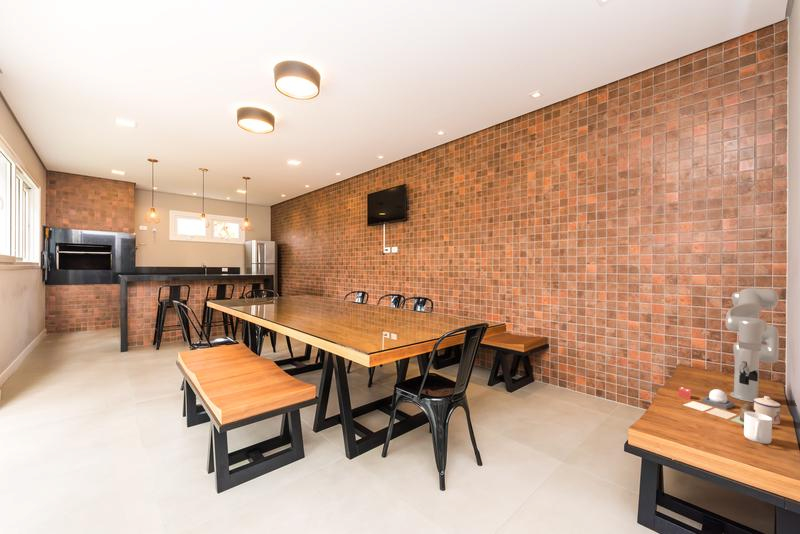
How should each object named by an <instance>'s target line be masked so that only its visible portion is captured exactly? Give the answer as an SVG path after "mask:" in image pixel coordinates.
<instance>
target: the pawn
mask: <svg viewBox="0 0 800 534" xmlns="http://www.w3.org/2000/svg"><path fill="white" fill-rule="evenodd" d="M745 412H755V410H754V405H753V404H751V403H750V402H745V403H743V404H742V405H741V406H740V409H739V416H740V420H741V421H743V422H744V413H745Z"/></svg>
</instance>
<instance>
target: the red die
mask: <svg viewBox="0 0 800 534" xmlns="http://www.w3.org/2000/svg"><path fill="white" fill-rule="evenodd" d="M678 397H679V398H684V399H688V400H691V399H692V389H690V388H685V387H683V386H682V387H679V388H678Z"/></svg>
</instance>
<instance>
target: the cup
mask: <svg viewBox="0 0 800 534" xmlns="http://www.w3.org/2000/svg"><path fill="white" fill-rule="evenodd" d="M743 426H744V427H743V436H744V437H745V438H746V439H748V440H750V441H753V442H756V443H759V444H766V445H769V444H771V443H772V434H773V424H772V418H771V417H769V416H766V415H764V414H760V413H756V412H745V413H744V424H743Z"/></svg>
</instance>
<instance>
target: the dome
mask: <svg viewBox="0 0 800 534" xmlns="http://www.w3.org/2000/svg"><path fill="white" fill-rule="evenodd" d="M708 396H709V400H710V401H714V402H717V403H721V404H727V400H728V396H727V394H726V393H725V392H724V391H723V390H721V389H718V388H717V389H715V388H714V389H712V390H710V391H709V395H708Z"/></svg>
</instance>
